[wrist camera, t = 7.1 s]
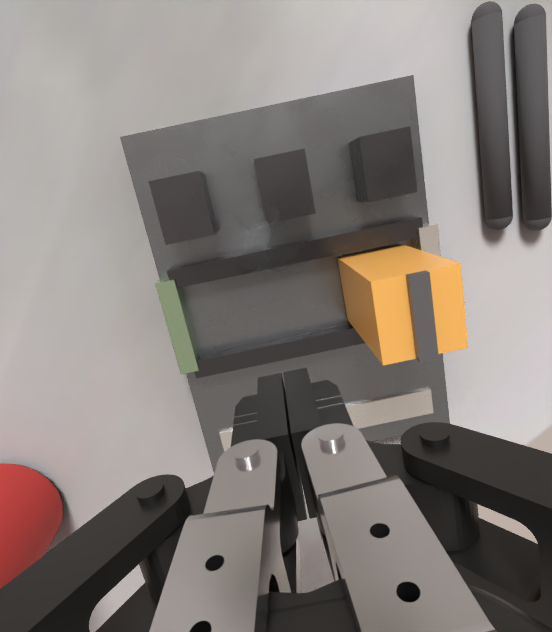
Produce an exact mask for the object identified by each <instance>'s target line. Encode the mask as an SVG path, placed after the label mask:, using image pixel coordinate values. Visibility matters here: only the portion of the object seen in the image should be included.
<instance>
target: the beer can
mask: <svg viewBox="0 0 552 632" xmlns="http://www.w3.org/2000/svg"><path fill="white" fill-rule="evenodd" d="M62 519H63V503H62V501H61V498H60V495H59V493H58V490H57V489H56V488H55V487H54V486H53V484H52V483H51V482H50V481H49V480H48V478H46V477H45V476H43V475H42V474H40V473H39V472H37V471H36V470H33V469H31V468H28V467H25V466H22V465H16V464H0V589H1V588H2V587H3V586H5V585H6V584H7V583H9V582H10V581H11V580H12V579H14V578H15V577H16V576H18V575H19V574H20V573H22V572H23V571H24V570H26V569H27V568H28V567H29V566H31V565H32V564H33V563H35V562H36V561H37V560H39V559H40V558H41V557H42V556H44V554H45V552H46V551H47V549H48V547H49V545H50V544H51V542H52V540H53V539H54V537H55V535H56V533H57V532H58V529H59V527H60V524H61V522H62Z"/></svg>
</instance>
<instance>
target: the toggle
mask: <svg viewBox="0 0 552 632" xmlns="http://www.w3.org/2000/svg"><path fill="white" fill-rule="evenodd" d="M338 265H339V271H340V277H341V283H342V289H343V295H344V301H345V307H346V313H347V319H348V321H349V322H350V323H351V325H352V326H353V327H354V329H355V330H356V331H357V333H358V334H359V335H360V336H361V338H362V339H363V340H364V342H365V343H366V344H367V346H368V347H369V348H370V349H371V351H372V352H373V353H374V355H375V356H376V357H377V358H378V360H379V361H380V362H381V364H382V365H388V364H393V363H398V362H402V361H407V360H412V359H417V360H418V361H419V362H423V361H428V360H432V359H437V358H439V354H441V353H445V352H450V351H455V350H460V349H464V348H468V342H467V330H466V319H465V307H464V296H463V284H462V273H461V263H459V262H456V261H453V260H450V259H446V258H443V257H440V256H437V255H434V254H431V253H428V252H425V251H422V250H418V249H415V248H412V247H409V246H406V245H403V244H400V245H396V246H391V247H386V248H381V249H377V250H372V251H367V252H362V253H358V254H353V255H348V256H343V257H339V258H338Z"/></svg>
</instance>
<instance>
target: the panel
mask: <svg viewBox="0 0 552 632" xmlns="http://www.w3.org/2000/svg"><path fill="white" fill-rule="evenodd" d="M120 139H121V142H122V146H123V149H124V153H125V156H126V160H127V164H128V167H129V171H130V174H131V178H132V181H133V185H134V189H135V192H136V196H137V199H138V203H139V206H140V210H141V214H142V217H143V221H144V224H145V228H146V231H147V235H148V239H149V242H150V246H151V249H152V253H153V257H154V260H155V264H156V267H157V271H158V274H159V278H160V280H159V281H158V282H157V283H156V284H155V285H156V288H157V292H158V295H159V299H160V302H161V306H162V309H163V313H164V316H165V320H166V323H167V327H168V330H169V334H170V337H171V341H172V345H173V348H174V352H175V355H176V359H177V362H178V366H179V369H180V373H181V374H185V373H186V374H187V378H188V382H189V385H190V389H191V392H192V396H193V399H194V403H195V407H196V410H197V414H198V417H199V421H200V424H201V428H202V432H203V435H204V439H205V442H206V446H207V449H208V453H209V457H210V460H211V464H212V467H213V471H214V473H215V470H216V466H217V462H218V460H219V458H220V456H221V455H222V454H223V453H224V452H225V451H226V450H227V449H229V448H230V447H231V439H232V431H233V426H234V425H233V422H234V413H235V406H236V405H237V404H238V403H239V401H240V400H241V399H242V398H243V397H245V396H250V395H255V394H257V381H258V377H263V376H268V375H273V374H278V373H281V374H282V378H283V382H284V375H283V372H287V371H292V370H297V369H302V368H307V371H308V375H309V378H310V382H311V383H313V382H318V381H323V380H329V381H330V382H332V383H334V384H335V385H337V386H338V389H339V391H340V394H341V396H342V399H343V401H344V404H345V406H346V408H347V411H348V413H349V416H350V418H351V421H352V423H353V426H354V427H355V428H357V429H358V430H359V431H360V432H361V433H362V435H363V437H364V438H365V440H367V441H370V442H372V441H377V440H381V439H386V438H391V437H396V436H401V435H403V433H404V432H405V431H406V430H408V429H409V428H411V427H413V426H415V425H418V424H422V423H429V422H442V423H448V424H450V421H449V411H448V401H447V392H446V382H445V373H444V363H443V354H442V353H441V354H439V358H437V359H432V360H428V361H423V362H419V361H418V360H417V359H412V360H407V361H402V362H398V363H393V364H388V365H382V364H381V362H380V361H379V360H378V358H377V357H376V356H375V355H374V353H373V352H372V351H371V349H370V348H369V347H368V346H367V344H366V343H365V342H364V340H363V339H362V338H361V336H360V335H359V334H358V333H357V331H356V330H355V329H354V327H353V326H352V325H351V323H350V322H349V321H348V319H347V313H346V307H345V301H344V295H343V289H342V283H341V277H340V271H339V265H338V258H339V257H343V256H348V255H353V254H358V253H362V252H367V251H372V250H377V249H381V248H386V247H391V246H396V245H400V244H403V245H406V246H409V247H412V248H415V249H418V250H422V251H425V252H428V253H431V254H434V255H437V256H440V257H441V252H440V242H439V232H438V224H432V223H429V220H428V211H427V201H426V192H425V182H424V173H423V163H422V154H421V144H420V135H419V125H418V116H417V106H416V96H415V87H414V77H413V75H412V76H407V77H402V78H397V79H393V80H388V81H383V82H379V83H374V84H369V85H364V86H360V87H355V88H350V89H345V90H341V91H336V92H331V93H327V94H322V95H317V96H312V97H308V98H303V99H298V100H293V101H289V102H284V103H279V104H275V105H270V106H265V107H260V108H256V109H251V110H246V111H241V112H237V113H232V114H227V115H223V116H218V117H213V118H208V119H204V120H199V121H194V122H189V123H185V124H180V125H175V126H171V127H166V128H161V129H156V130H152V131H147V132H142V133H137V134H133V135H128V136H123V137H120ZM284 387H285V383H284Z"/></svg>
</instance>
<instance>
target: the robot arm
mask: <svg viewBox="0 0 552 632" xmlns="http://www.w3.org/2000/svg"><path fill="white" fill-rule="evenodd" d="M283 375H284V382H283V378H282V374H281V373H278V374H273V375H268V376H263V377H258V381H257V394H255V395H250V396H245V397H243V398H242V399H241V400H240V401H239V403H238V404H237V405H236V406H235V413H234V422H233V425H234V426H233V431H232V439H231V447H230V448H229V449H227V450H226V451H225V452H224V453H223V454H222V455H221V456H220V458H219V460H218V462H217V466H216V470H215V473H214V476H212V477H211V478H209V479H207V480H205V481H203V482H200V483H198V484H195V485H193V486H191V487H188V488H186V489H185V485H184V482H183V480H182V479H181V478H180V477H178V476H175V475H159V476H155V477H152V478H149V479H146V480H144V481H142V482H140V483H139V484H137V485H136V486H134V487H133V488H131V489H130V490H129V491H127V492H126V493H125V494H123V495H122V496H121V497H120V498H118V499H117V500H116V501H114V502H113V503H112V504H110V505H109V506H108V507H106V508H105V509H104V510H103V511H101V512H100V513H99V514H97V515H96V516H95V517H93V518H92V519H91V520H90V521H88V522H87V523H86V524H84V525H83V526H82V527H80V528H79V529H78V530H76V531H75V532H74V533H73V534H71V535H70V536H69V537H67V538H66V539H65V540H63V541H62V542H61V543H59V544H58V545H57V546H56V547H54V548H53V549H52V550H50V551H49V552H48V553H46V554H45V555H44V556H42V557H41V558H40V559H39V560H37V561H36V562H35V563H33V564H32V565H31V566H29V567H28V568H27V569H26V570H24V571H23V572H22V573H20V574H19V575H18V576H16V577H15V578H14V579H12V580H11V581H10V582H9V583H7V584H6V585H5V586H3V587H2V588H1V589H0V632H90V631H89V620H90V616H91V613H92V611H93V609H94V608H95V606H96V605H97V603H98V602H99V601H100V600H101V599H102V598H103V597H104V596H105V595H106V594H107V593H108V592H109V591H110V590H111V589H112V588H113V587H115V586H116V585H117V584H118V583H119V582H120V581H121V580H122V579H123V578H124V577H125V576H126V575H127V574H128V573H130V572H131V571H132V570H133V569H134V568H135V567H136V566H137V565H138V564H139V565H140V568H141V571H142V574H143V577H144V579H145V583H144V584H143V585H142V586H141V587H140V588H139V589H138V590H137V591H136V592H135V593H134V594H133V595H132V596H131V597H130V598H129V599H128V600H127V601H126V602H125V603H124V604H123V605H122V606H121V607H120V608H119V609H118V610H117V611H116V612H115V613H114V614H113V615H112V616H111V617H110V618H109V619H108V620H107V621H106V622H105V623H104V624H103V625H102V626H101V627H100V628H99V629H98V630H97V631H96V632H552V454H550V453H547V452H544V451H540V450H537V449H533V448H530V447H527V446H524V445H520V444H517V443H513V442H510V441H507V440H503V439H500V438H496V437H493V436H490V435H486V434H483V433H479V432H476V431H473V430H469V429H466V428H462V427H459V426H456V425H452V424H448V423H442V422H429V423H422V424H418V425H415V426H413V427H411V428H409V429H408V430H406V431H405V432H404V433H403V435H402V437H401V444H378V443H373V442H370V441H367V440H365V438H364V437H363V435H362V433H361V432H360V431H359V430H358V429H357V428H355V427H354V426H353V423H352V421H351V418H350V416H349V413H348V411H347V408H346V406H345V404H344V401H343V399H342V396H341V394H340V391H339V389H338V386H337V385H335V384H334V383H332V382H330V381H329V380H323V381H318V382H313V383H311V382H310V378H309V375H308V371H307V368H302V369H297V370H292V371H287V372H283ZM284 383H285V387H284ZM302 486H303V488H302ZM303 490H304V495H305V499H306V504H307V508H308V513H309V517H310V518H315V517H317V521H318V525H319V530H320V534H321V539H322V544H323V548H324V551H325V555H326V559H327V562H328V566H329V569H330V573H331V577H332V580H333V582H332V583H330V584H328V585H326V586H323V587H321V588H319V589H317V590H314V591H312V592H309V593H301V566H300V546H299V542H298V521H301V520H306V519H307V516H306V509H305V502H304V495H303ZM477 504H479V505H481V506H484V507H486V508H489V509H491V510H493V511H496V512H498V513H500V514H503V515H505V516H508V517H510V518H512V519H515V520H517V521H519V522H520V523H522V524H523V525H524V526H526V527H527V528H528V529H529V530H530V531H531V532H532V533H533V535H534V536H535V538H536V540H537V542H538V544H536V543H534V542H532V541H530V540H528V539H525V538H523V537H521V536H519V535H516V534H514V533H512V532H510V531H507V530H505V529H503V528H501V527H498V526H496V525H494V524H492V523H489V522H487V521H485V520H483V519H480V518H479V517H478V508H477Z"/></svg>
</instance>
